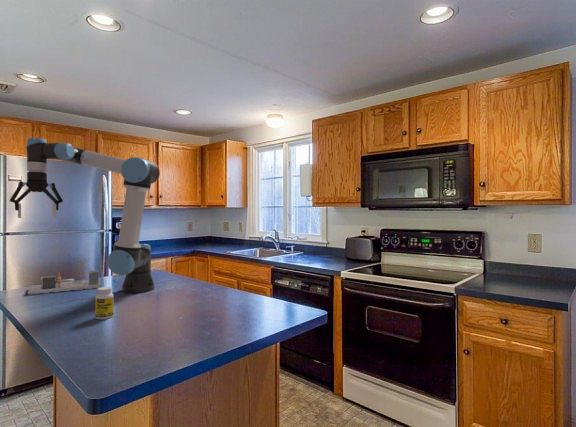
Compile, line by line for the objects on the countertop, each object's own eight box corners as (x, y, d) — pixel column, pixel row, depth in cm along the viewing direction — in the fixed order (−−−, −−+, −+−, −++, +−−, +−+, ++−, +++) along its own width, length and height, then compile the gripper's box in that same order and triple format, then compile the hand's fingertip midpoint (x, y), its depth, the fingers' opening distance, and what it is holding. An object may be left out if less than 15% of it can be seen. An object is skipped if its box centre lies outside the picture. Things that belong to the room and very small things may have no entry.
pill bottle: (94, 320, 129) (94, 290, 129) (95, 316, 134) (95, 287, 134) (113, 318, 132) (113, 289, 131) (113, 314, 137) (113, 285, 137)
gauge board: (98, 283, 192) (98, 268, 192) (100, 287, 181) (100, 272, 181) (30, 289, 176) (30, 273, 176) (28, 295, 165) (28, 278, 165)
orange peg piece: (61, 282, 183) (61, 272, 183) (61, 283, 180) (61, 273, 180) (57, 282, 182) (57, 272, 182) (57, 283, 179) (57, 273, 179)
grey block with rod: (74, 281, 185) (74, 272, 185) (74, 285, 177) (74, 275, 177) (42, 284, 178) (42, 274, 178) (40, 288, 170) (40, 278, 169)
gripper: (65, 174, 176) (65, 216, 176) (1, 170, 158) (1, 217, 158) (69, 173, 171) (70, 217, 171) (4, 169, 153) (5, 218, 153)
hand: (37, 217), depth 165 cm, fingers open, 13 cm apart
